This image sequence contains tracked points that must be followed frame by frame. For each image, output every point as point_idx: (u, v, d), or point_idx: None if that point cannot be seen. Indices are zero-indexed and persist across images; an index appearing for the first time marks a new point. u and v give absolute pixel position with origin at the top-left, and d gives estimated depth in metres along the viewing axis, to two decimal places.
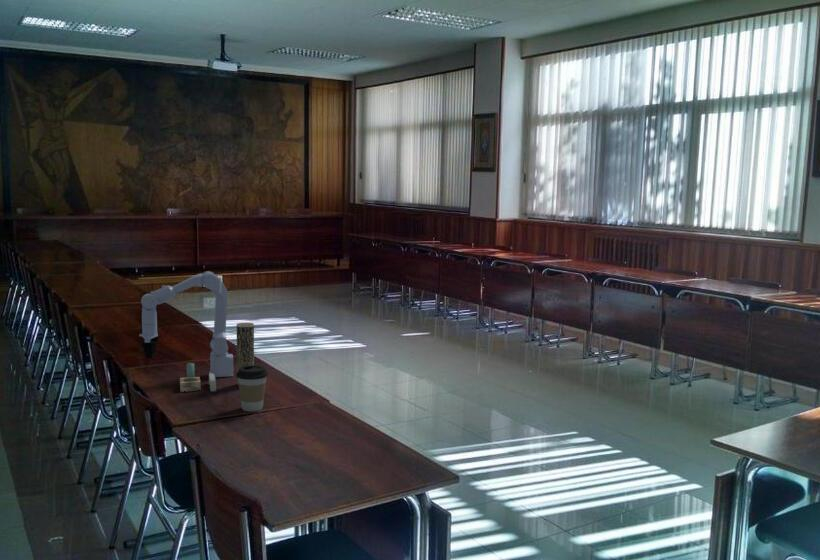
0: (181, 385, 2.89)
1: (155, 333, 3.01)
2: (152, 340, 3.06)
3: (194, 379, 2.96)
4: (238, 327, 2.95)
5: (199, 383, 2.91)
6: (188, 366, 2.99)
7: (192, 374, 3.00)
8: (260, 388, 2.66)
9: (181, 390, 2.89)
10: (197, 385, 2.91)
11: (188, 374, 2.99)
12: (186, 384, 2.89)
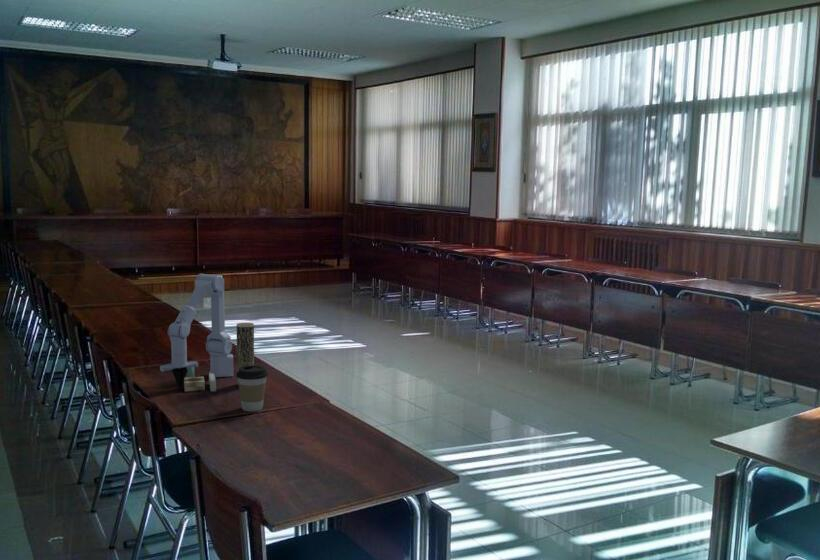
0: (185, 385, 2.89)
1: (177, 364, 2.88)
2: None
3: (198, 379, 2.97)
4: (238, 327, 2.95)
5: (203, 383, 2.91)
6: None
7: (192, 374, 3.00)
8: (260, 388, 2.66)
9: (185, 390, 2.89)
10: (201, 385, 2.91)
11: (188, 374, 2.99)
12: (190, 384, 2.90)
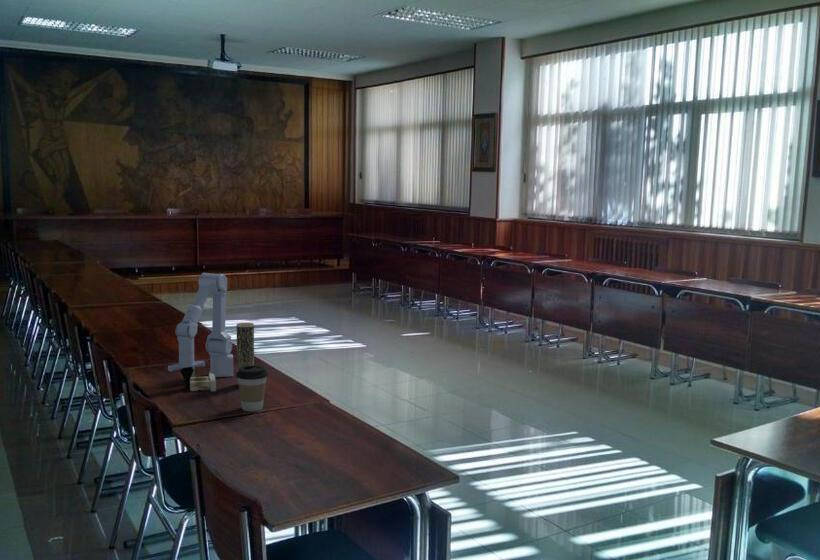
0: (191, 384, 2.90)
1: (185, 363, 2.89)
2: None
3: (204, 378, 2.97)
4: (238, 327, 2.95)
5: (209, 382, 2.92)
6: None
7: (192, 374, 3.00)
8: (260, 388, 2.66)
9: (191, 389, 2.90)
10: (207, 384, 2.92)
11: None
12: (196, 383, 2.90)
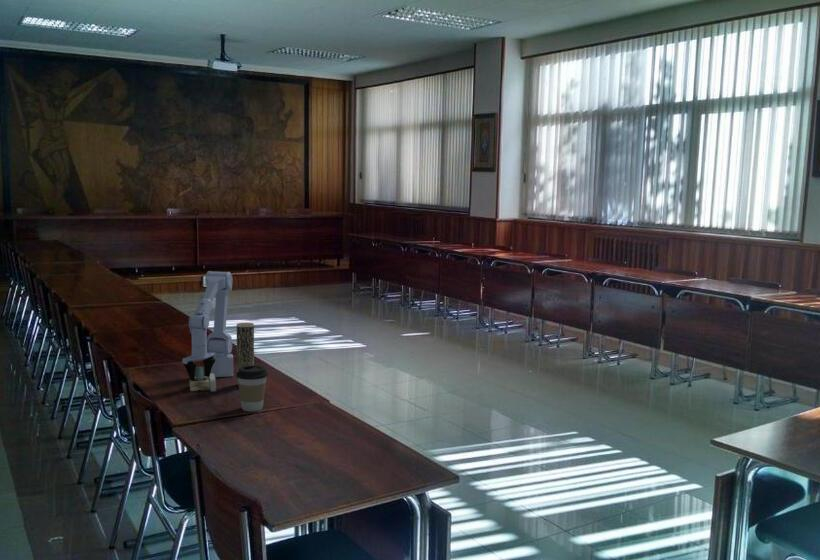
0: (191, 384, 2.90)
1: (200, 355, 2.90)
2: (207, 362, 2.96)
3: (204, 378, 2.97)
4: (238, 327, 2.95)
5: (209, 382, 2.92)
6: (199, 369, 2.92)
7: (202, 377, 2.94)
8: (260, 388, 2.66)
9: (191, 389, 2.90)
10: (207, 384, 2.92)
11: (199, 378, 2.93)
12: (196, 383, 2.90)
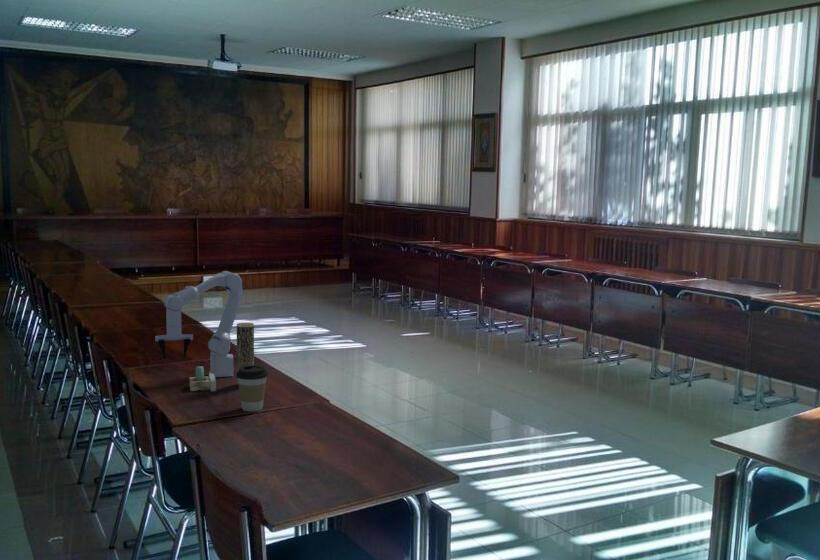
0: (191, 384, 2.90)
1: (170, 335, 2.98)
2: None
3: (204, 378, 2.97)
4: (238, 327, 2.95)
5: (209, 382, 2.92)
6: (199, 369, 2.92)
7: (202, 377, 2.94)
8: (260, 388, 2.66)
9: (191, 389, 2.90)
10: (207, 384, 2.92)
11: (199, 378, 2.93)
12: (196, 383, 2.90)
